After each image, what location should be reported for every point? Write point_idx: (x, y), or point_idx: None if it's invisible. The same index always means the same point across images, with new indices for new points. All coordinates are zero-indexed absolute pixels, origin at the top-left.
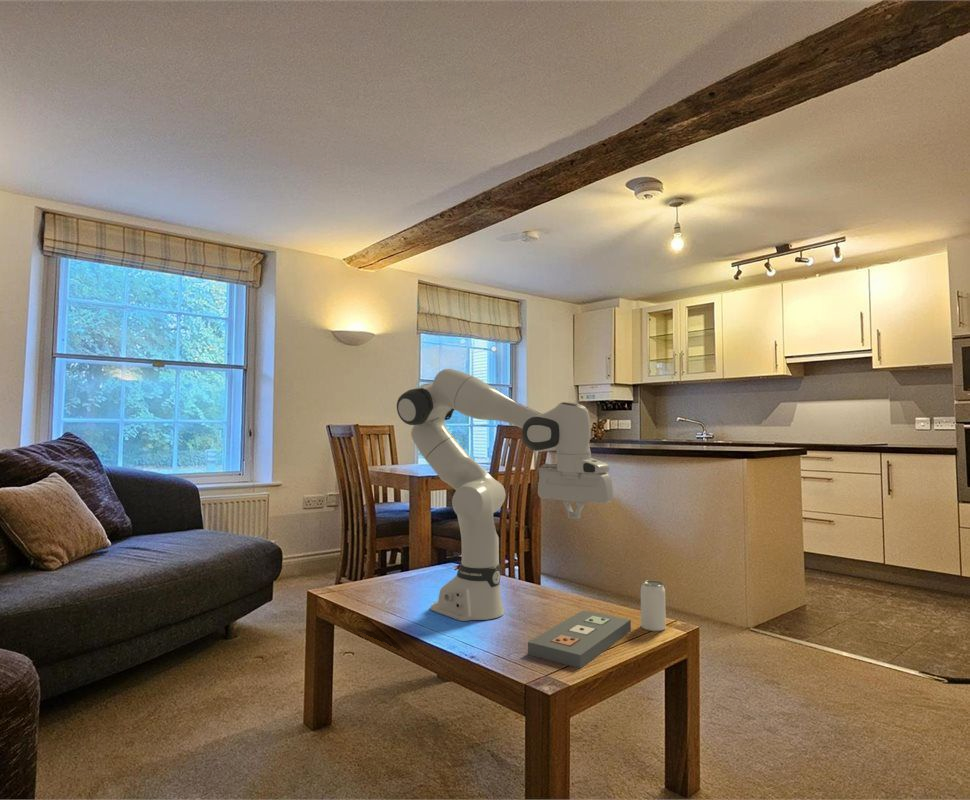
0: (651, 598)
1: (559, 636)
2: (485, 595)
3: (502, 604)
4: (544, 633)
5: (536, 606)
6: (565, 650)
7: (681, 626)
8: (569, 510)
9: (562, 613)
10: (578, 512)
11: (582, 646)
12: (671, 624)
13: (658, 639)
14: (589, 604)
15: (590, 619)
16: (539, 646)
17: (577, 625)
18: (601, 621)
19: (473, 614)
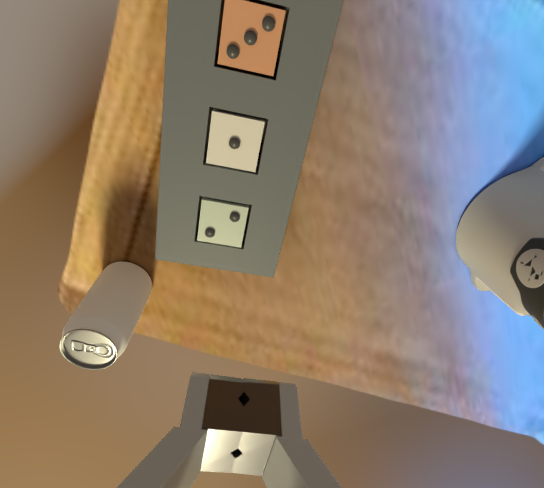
0: (92, 304)
1: (274, 60)
2: (534, 214)
3: (469, 256)
4: (320, 72)
5: (390, 307)
6: None
7: None
8: (281, 448)
9: (327, 289)
10: (178, 433)
11: (192, 9)
12: None
13: (92, 222)
14: (287, 353)
15: (236, 217)
16: None
17: (254, 167)
18: (209, 218)
19: (536, 173)
